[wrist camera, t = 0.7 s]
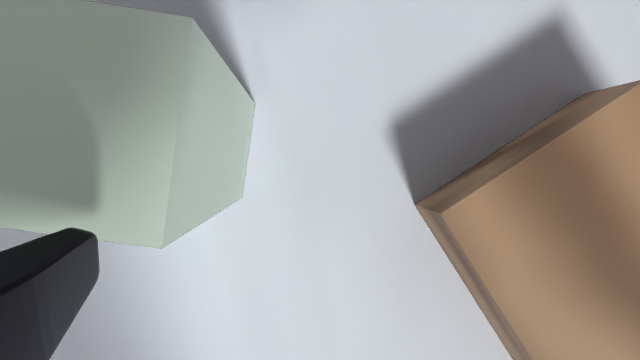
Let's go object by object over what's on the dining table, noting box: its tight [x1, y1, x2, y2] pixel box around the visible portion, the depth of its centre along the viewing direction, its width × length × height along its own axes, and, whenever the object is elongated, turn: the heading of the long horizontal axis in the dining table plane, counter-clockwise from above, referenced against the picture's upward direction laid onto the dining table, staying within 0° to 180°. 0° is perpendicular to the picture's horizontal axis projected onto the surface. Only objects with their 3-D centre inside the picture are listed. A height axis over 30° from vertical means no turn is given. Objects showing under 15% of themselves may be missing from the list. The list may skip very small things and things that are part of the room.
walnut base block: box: [415, 80, 640, 360], centre depth 21 cm, size 10×10×4 cm
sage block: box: [0, 0, 255, 249], centre depth 15 cm, size 4×4×13 cm
